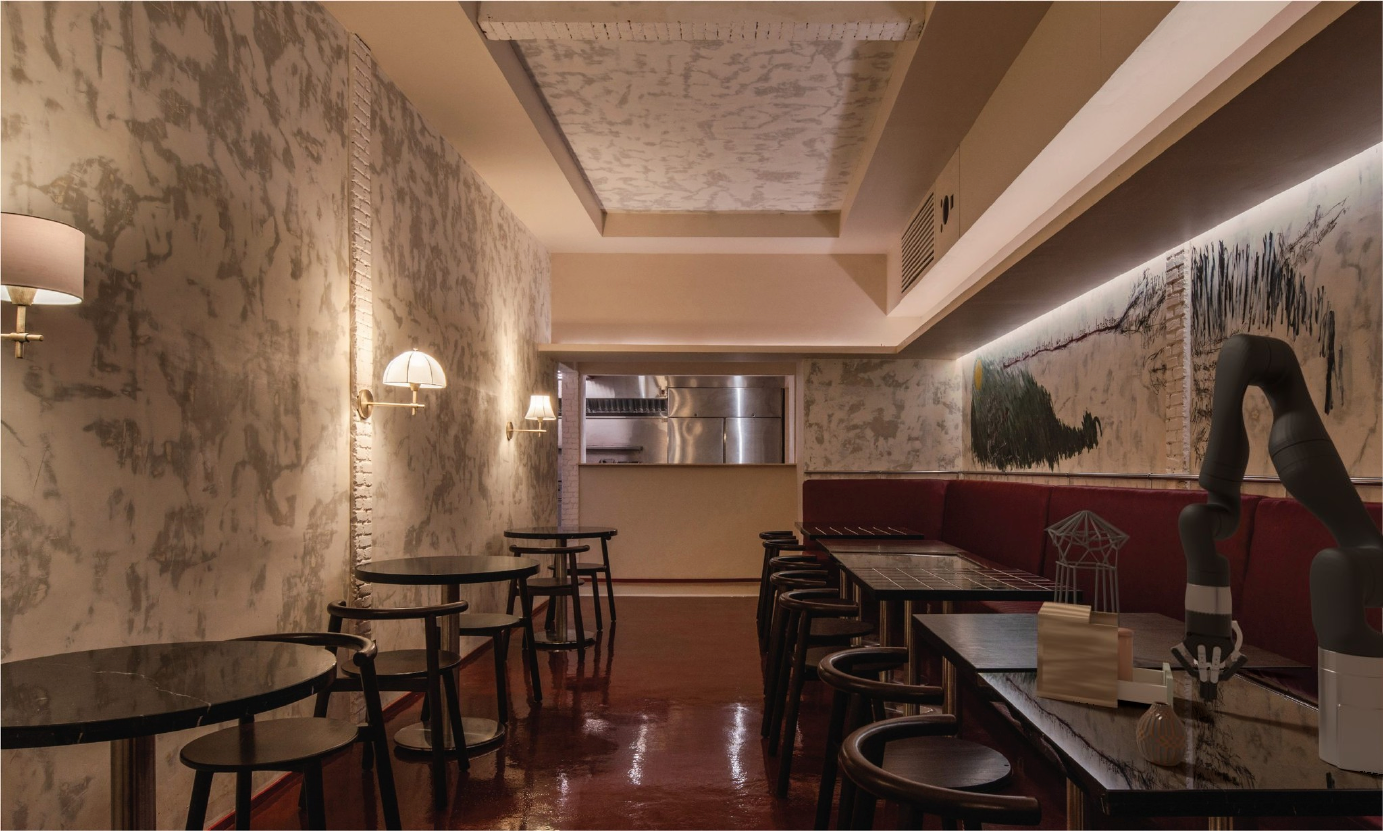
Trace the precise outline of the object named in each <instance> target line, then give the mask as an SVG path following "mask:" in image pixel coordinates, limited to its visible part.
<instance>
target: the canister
mask: <svg viewBox="0 0 1383 831" xmlns="http://www.w3.org/2000/svg"><path fill="white" fill-rule="evenodd" d="M1134 635H1135V631H1134V630H1133V629H1131V628H1126V627H1120V628H1119V627H1118V680H1122V681H1129V682H1133V667H1134V665H1133V664H1134V660H1133V659H1134V656H1133V654H1134V652H1133V650H1134V649H1133V648H1134V644H1133V641H1134V639H1133V638H1134V637H1133V636H1134Z"/></svg>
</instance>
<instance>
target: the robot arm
mask: <svg viewBox="0 0 1383 831" xmlns="http://www.w3.org/2000/svg"><path fill="white" fill-rule="evenodd" d="M1218 352H1219V353H1218V356H1217V359H1216V364H1215V373H1214V382H1213V383H1214V386H1213V394H1212V406H1211V421H1210V428H1209V436H1208V441H1207V443H1206V444H1207V445H1206V449H1205V453H1204V455H1203V460H1202V463H1201V465H1200V466H1201V467H1200V471H1199V475H1198V482H1197V484H1198V486H1199V487H1200V488H1201V489H1203V490H1204V491H1205V492H1206V491H1207V502H1206V503H1203V502H1201V503H1200V502H1196V503H1191V504H1188V505H1186V506H1185V507H1184V508H1183V509H1182V510H1181V512H1180V513H1179V517H1178V521H1177V527H1178V528H1177V529H1178V534H1179V537H1180V541H1181V545H1182V548H1183V552H1184V556H1185V558H1186V564H1187V565H1186V588H1185V589H1186V590H1185V598H1184V599H1185V600H1184V606H1185V608H1184V609H1185V614H1184V615H1185V617H1184V618H1185V621H1184V622H1185V623H1184V625H1185V629H1184V631H1185V632H1184V635H1183V638H1182V640H1181V642H1180V643H1179V644H1177V645H1176V646H1175V645H1172V646H1171V647H1170V652H1171V654H1172V655H1173V657H1175V659H1176V660H1177V661H1178V663H1179V664H1180V665H1181V667H1182V668H1183V669H1184V670H1185V671H1186V673H1187V674H1188V675H1189V676H1190V677H1192V678H1195V679H1197V680H1198V694H1199V697H1200V699H1202V700H1203V703H1204V702H1205V703H1211V704H1213V703H1214V701H1217V698H1218V683H1219V682H1227V681H1230V679H1231V678H1232V677H1233V676H1234V675H1235V674H1236V673H1237V672H1239V671H1240V669H1241V668H1242V667H1243V666H1245V664H1247V663H1248V660H1249V659H1248V657H1247V656H1246V655H1245V654H1244V653H1241V652H1240V651H1237V650H1236V649H1235V645H1236V644H1235V643H1234V641H1233V635H1232V634H1233V633H1232V631H1233V630H1232V629H1233V628H1232V621H1233V620H1232V619H1233V618H1232V617H1233V615H1232V614H1233V612H1232V611H1233V605H1232V602H1233V600H1232V592H1231V564H1230V560H1229V558H1228V557H1227V556H1225V555H1223V554H1221V553H1218V551H1217V547H1216V542H1215V541H1226V540H1229V539H1230V538H1231V537H1233V536H1234V535H1235V534H1236V533H1237V531H1238V529H1239V527H1240V524H1241V521H1242V493H1241V489H1242V488H1241V487H1242V485H1243V481H1244V478H1245V474H1246V472H1247V467H1248V465H1249V458H1250V454H1251V453H1250V451H1251V450H1250V448H1251V447H1250V440H1249V436H1248V432H1247V428H1246V424H1245V421H1244V420H1245V419H1244V413H1243V410H1244V409H1243V407H1244V406H1243V405H1244V400H1245V399H1244V398H1245V396H1246V392H1247V390H1248V388H1249V386H1250V387H1251V386H1252V387H1258V388H1260V390H1261V391H1262V393H1263V395H1264V396H1265V398H1266V400H1267V402H1268V405H1269V406H1270V409H1271V411H1272V412H1271V413H1272V418H1273V419H1272V424H1271V429H1270V433H1269V436H1268V443H1267V449H1268V450H1267V451H1268V454H1269V458H1270V460H1271V463H1272V465H1273V467H1274V469H1275V471H1276V474H1277V475H1278V479H1279V480H1280V483H1281V484H1282V486H1283V487H1284V488H1285V490H1286V491H1287V493H1288V494H1289V495H1291V497H1293V498H1294V500H1296V501H1297V502H1298V503H1299V504H1300V505H1301V506H1302V507H1304V508H1305V509H1306V510H1307V511H1308V512H1310V514H1312V515H1313V516H1314V517H1315V518H1317V520H1319V522H1321V523H1322V525H1323V526H1325V527H1326V529H1327V530H1328V531H1329V532H1330V534H1331V535H1332V537H1333V539H1334V540H1335V542H1336V544H1337V547H1328V548H1324V549H1323V548H1322V549H1321V550H1319V552H1317V553H1316V555H1315V556H1314V557H1313V559H1312V561H1311V564H1310V569H1309V593H1310V594H1309V595H1310V606H1311V608H1310V609H1311V621H1312V625H1313V628H1314V631H1315V634H1316V637H1317V643H1318V647H1317V648H1318V650H1317V651H1318V654H1317V656H1318V658H1317V659H1318V662H1317V664H1318V666H1317V667H1318V670H1317V672H1318V673H1317V677H1318V678H1317V680H1318V682H1317V683H1318V684H1317V685H1318V690H1317V691H1318V745H1319V746H1318V757H1319V759H1321V760H1322V761H1324V762H1326V763H1328V764H1331V765H1333V766H1336V767H1337V768H1339V769H1343V770H1348V771H1356V772H1360V771H1363V772H1362V773H1367V772H1371V773H1370V774H1373V772H1374V773H1378V774H1377V775H1379V774H1383V632H1380V631H1378V630H1375V629H1374V628H1372V627H1371V625H1369V623H1368V621H1367V616H1366V609H1367V608H1368V609H1375V608H1376V609H1380V608H1381V609H1382V608H1383V533H1382V531H1381V530H1380V529H1379V527H1378V525H1377V524H1376V522H1375V521H1374V519H1373V518H1372V516H1371V514H1370V513H1369V511H1368V508H1367V507H1366V505H1365V503H1364V501H1363V500H1362V498H1361V496H1360V494H1359V492H1358V490H1357V489H1356V487H1355V485H1354V483H1353V481H1352V480H1351V478H1350V475H1349V473H1348V471H1347V469H1346V466H1345V464H1344V461H1343V459H1342V458H1341V457H1342V456H1341V455H1340V453H1339V452H1338V449H1337V448H1336V445H1335V444H1334V441H1333V440H1332V437H1331V436H1330V434H1329V432H1328V431H1327V429H1326V427H1325V424H1324V422H1323V421H1322V418H1321V416H1320V414H1319V411H1318V409H1317V407H1316V405H1315V403H1314V401H1313V399H1312V397H1311V393H1310V392H1309V388H1308V386H1307V382H1306V379H1305V377H1304V374H1303V371H1302V368H1301V364H1300V362H1299V360H1298V357H1297V354H1296V352H1295V351H1294V349H1293V348H1292V346H1290V344H1289V343H1288V342H1286V341H1285V340H1283V339H1280V338H1277V337H1271V336H1266V335H1265V336H1264V335H1256V334H1249V333H1248V334H1247V333H1238V334H1234V335H1232V336H1229V338H1227V339H1226V340H1225V342H1223V344H1222V345H1221V347H1220V349H1219V351H1218ZM1185 649H1186V650H1187V652H1188V653H1189V654H1190V655H1191V657H1192V659H1193V660H1194V659H1195V660H1196V661H1198V665H1197V670H1196V669H1195V668H1194V667H1193V666H1192V665H1191V663H1190V662H1189V661H1188V659H1187V658H1186V657H1185V656H1186V654H1187V653H1186V650H1185ZM1231 653H1232V655H1230V654H1231ZM1230 656H1231V657H1230ZM1229 657H1230V659H1231V662H1230V663H1229V664H1228V665H1227V666H1225V668H1223V670H1222V671H1221V672H1220V668H1219V666H1220V664H1221V663H1223V662H1224V661H1225V662H1226V660H1227V659H1228V658H1229ZM1206 663H1210V668H1209V672H1208V670H1207V669H1208V667H1206ZM1208 673H1209V675H1208ZM1364 771H1365V772H1364Z"/></svg>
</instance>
